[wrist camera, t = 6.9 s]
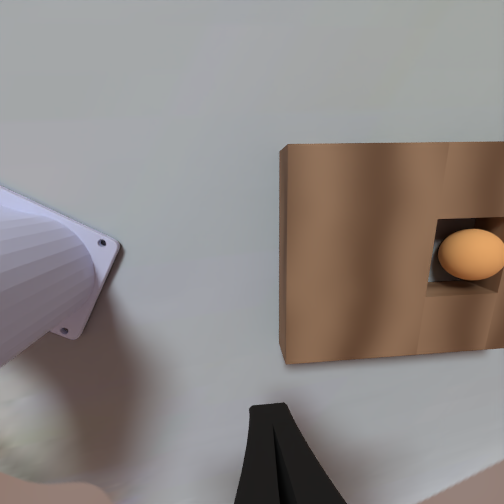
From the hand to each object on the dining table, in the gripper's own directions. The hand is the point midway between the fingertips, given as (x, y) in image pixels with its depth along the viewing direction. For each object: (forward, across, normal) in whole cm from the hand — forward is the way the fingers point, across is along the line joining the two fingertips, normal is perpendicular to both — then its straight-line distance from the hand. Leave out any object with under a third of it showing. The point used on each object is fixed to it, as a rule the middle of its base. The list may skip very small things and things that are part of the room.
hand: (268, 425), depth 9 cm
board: (+9, -11, -4) cm, 15 cm away
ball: (+8, -15, -4) cm, 17 cm away
